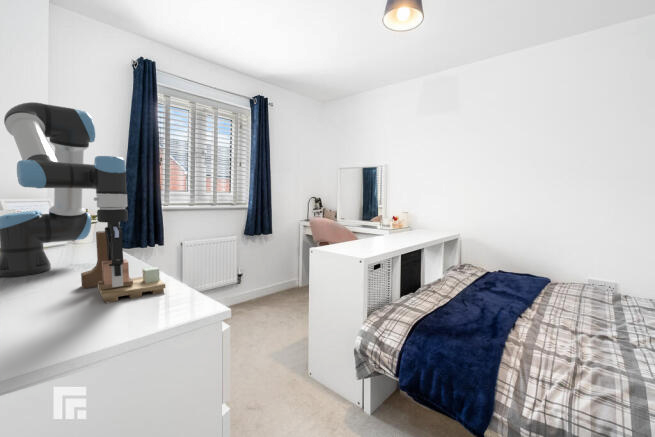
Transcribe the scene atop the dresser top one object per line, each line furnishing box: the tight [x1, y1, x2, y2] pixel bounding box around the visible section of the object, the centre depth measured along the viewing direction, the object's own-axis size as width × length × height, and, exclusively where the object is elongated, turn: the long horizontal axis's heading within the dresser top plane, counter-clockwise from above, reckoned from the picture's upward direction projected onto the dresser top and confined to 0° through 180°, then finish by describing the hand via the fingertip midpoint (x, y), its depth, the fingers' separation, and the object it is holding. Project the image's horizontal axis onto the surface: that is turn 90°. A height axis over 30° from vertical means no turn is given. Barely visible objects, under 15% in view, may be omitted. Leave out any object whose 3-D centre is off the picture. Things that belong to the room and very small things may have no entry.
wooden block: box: [80, 230, 108, 289], centre depth 102 cm, size 9×4×18 cm, turn 133°
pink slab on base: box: [99, 258, 133, 290], centre depth 93 cm, size 6×8×7 cm
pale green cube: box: [142, 266, 161, 283], centre depth 99 cm, size 4×4×4 cm
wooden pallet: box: [97, 276, 166, 304], centre depth 96 cm, size 14×16×2 cm
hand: (116, 283), depth 93 cm, fingers closed on pink slab on base, 6 cm apart
